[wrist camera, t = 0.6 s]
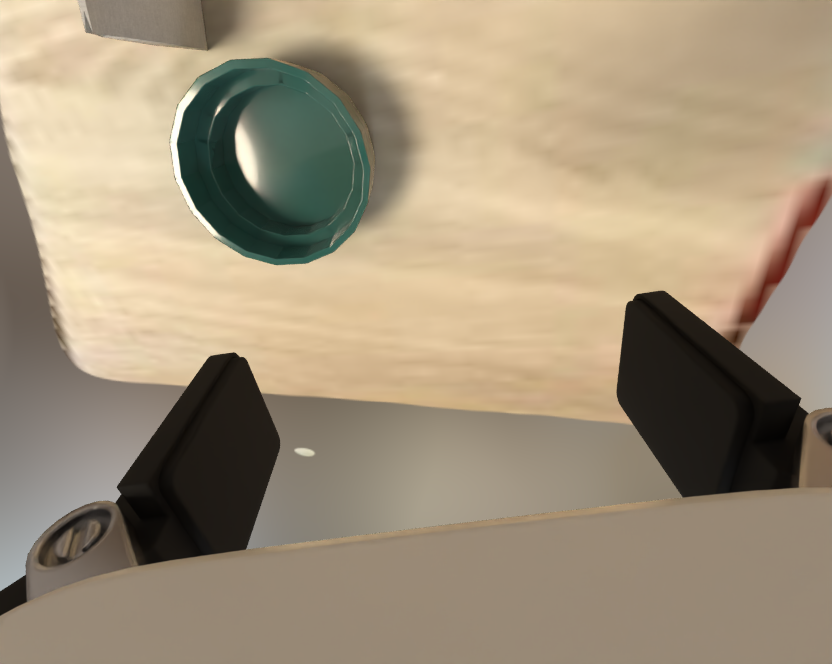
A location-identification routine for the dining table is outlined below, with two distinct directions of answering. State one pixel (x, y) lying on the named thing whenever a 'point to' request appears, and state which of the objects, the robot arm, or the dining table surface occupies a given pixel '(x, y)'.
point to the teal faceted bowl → (272, 159)
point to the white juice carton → (147, 21)
